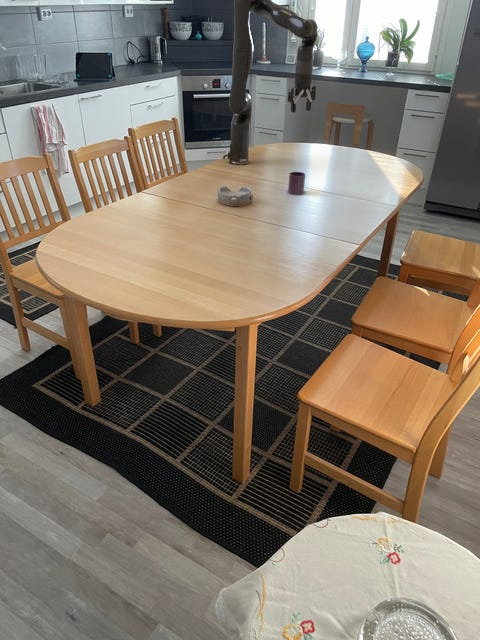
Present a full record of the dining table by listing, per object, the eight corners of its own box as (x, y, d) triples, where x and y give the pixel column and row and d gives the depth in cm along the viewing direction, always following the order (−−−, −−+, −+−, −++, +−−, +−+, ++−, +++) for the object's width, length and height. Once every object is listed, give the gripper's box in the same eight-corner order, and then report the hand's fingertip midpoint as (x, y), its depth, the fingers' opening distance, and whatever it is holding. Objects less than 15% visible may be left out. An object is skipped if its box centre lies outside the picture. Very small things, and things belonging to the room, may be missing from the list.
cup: (287, 194, 214) (288, 175, 209) (288, 189, 219) (290, 171, 215) (303, 195, 213) (304, 176, 209) (304, 190, 219) (305, 172, 214)
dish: (213, 198, 208) (213, 186, 205) (244, 194, 212) (244, 183, 209) (224, 209, 196) (225, 197, 194) (257, 205, 201) (257, 193, 198)
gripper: (310, 70, 223) (307, 108, 232) (285, 72, 217) (283, 111, 225) (321, 72, 218) (317, 111, 227) (296, 74, 211) (293, 114, 220)
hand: (300, 111), depth 226 cm, fingers open, 8 cm apart
